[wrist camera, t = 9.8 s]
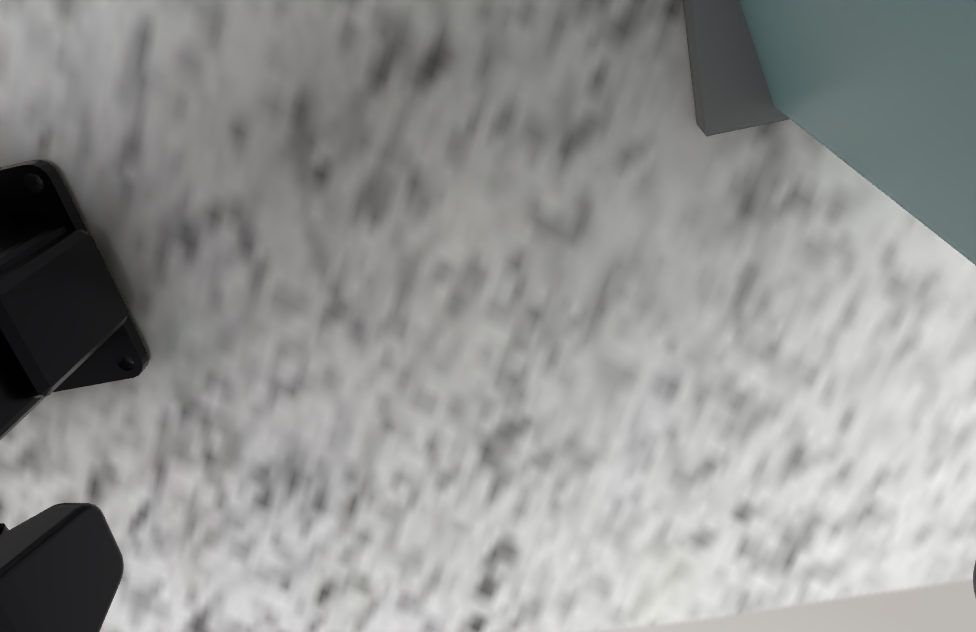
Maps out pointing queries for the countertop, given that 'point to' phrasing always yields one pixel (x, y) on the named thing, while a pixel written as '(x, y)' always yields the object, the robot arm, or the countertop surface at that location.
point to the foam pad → (726, 69)
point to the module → (883, 95)
